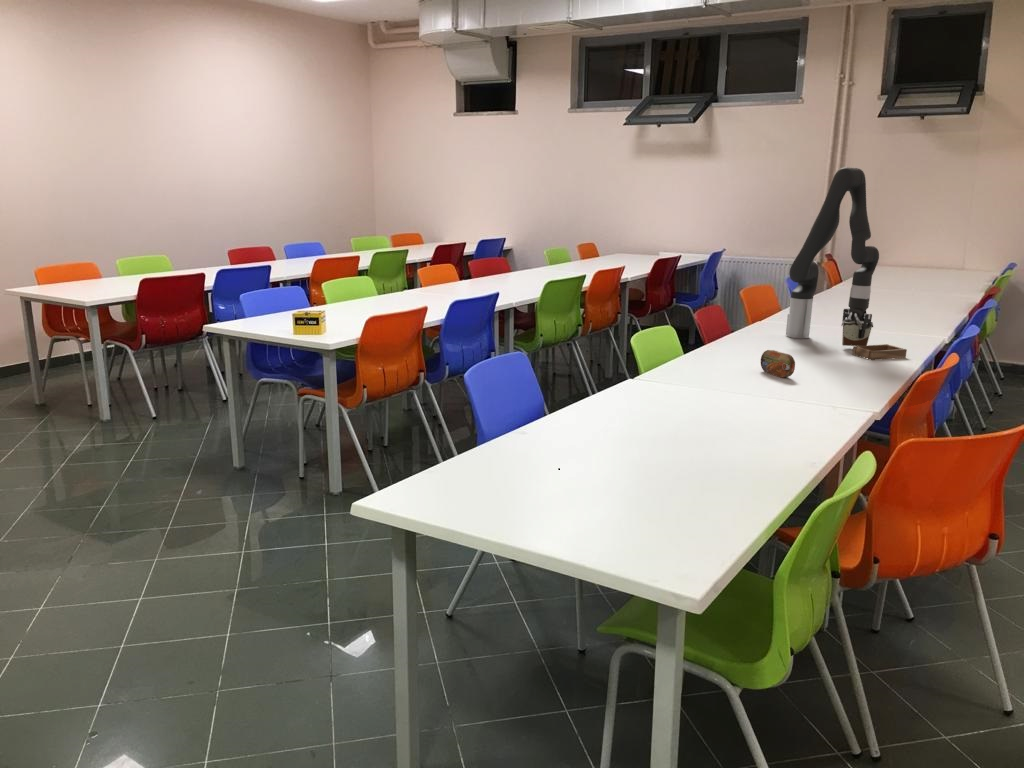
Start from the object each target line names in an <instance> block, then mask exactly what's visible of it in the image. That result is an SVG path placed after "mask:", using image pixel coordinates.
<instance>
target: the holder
mask: <svg viewBox="0 0 1024 768" xmlns="http://www.w3.org/2000/svg"><path fill="white" fill-rule="evenodd" d="M852 348H853V349H852V354H855V355H858V356H857V357H859V356H861V357H860V358H862V357H865V358H864V359H866V358H868V359H867V360H869V359H871V360H870V361H876V360H875V359H882V360H890V359H891V360H892V358H895V359H906V357H907V352H908V349H906V348H904V347H903V348H902V347H898V346H896V345H891V344H889V343H888V344H887V343H885V344H883V343H882V344H873V345H872V344H870V345H868V344H867V346H852ZM855 355H854V356H855Z"/></svg>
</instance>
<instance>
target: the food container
mask: <svg viewBox="0 0 1024 768" xmlns="http://www.w3.org/2000/svg"><path fill="white" fill-rule="evenodd" d="M842 320H843V319H842ZM861 322H862V321H861ZM867 324H868V323H867ZM840 326H841V327H842V344H841V345H842V346H845V347H846V346H847V347H848V346H849V347H853V346H868V342H869V339H870V336H871V331H872V328H874V323H873V321H871V325H870V328H869V329H866V330H865V335H864V338H863V339H859V338H858V334H859V329H860V328H859V325H858V324H857V322H856V321H848V319H847V318H846V319H845V320H843V322H841V324H840ZM862 326H863V324H862ZM866 326H867V325H866Z"/></svg>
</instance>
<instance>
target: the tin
mask: <svg viewBox="0 0 1024 768" xmlns="http://www.w3.org/2000/svg"><path fill="white" fill-rule="evenodd" d="M760 357H761V358H760V367H761V369H762V371H763V372H764V373H766V374H768V375H772V376H776V377H778V378H789V377H791V376H792V375H793V374H794V372H795V368H796V361H795V359H794V357H793V355H791V354H790V353H785V352H782V351H778V350H774V349H767V350H765V351H763V352H762V354H761V356H760Z"/></svg>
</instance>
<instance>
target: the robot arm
mask: <svg viewBox="0 0 1024 768" xmlns="http://www.w3.org/2000/svg"><path fill="white" fill-rule="evenodd" d="M866 180H867V179H866V175H865V172H864V170H862V169H861V168H858V167H841V168H840V169H838V170H837V171H836V172H835V174H834V175H833V177H832V181H831V183H830V185H829V188H828V192H827V194H826V196H825V199H824V201H823V203H822V205H821V208H820V210H819V212H818V215H817V216H816V218H815V220H814V222H813V224H812V226H811V227H810V231H809V233H808V235H807V237H806V239H805V241H804V243H803V245H802V247H801V249H800V250H799V252H798V254H797V256H796V257H795V259H794V260H793V262H792V264H791V266H790V267H789V274H788V275H789V278H790V280H791V281H792V282H793V283H797V286H796V287H795V288H794V289H792V291H791V292H790V301H789V313H788V314H787V319H786V330H785V336H786V337H788V338H792V339H809V338H810V332H811V323H812V313H813V303H814V295H815V293H816V291H817V286H818V279H819V266H818V264H817V263H816V262H815V261H814V260H815V258H816V256H817V255H818V254H819V252H821V251H822V250H823V249H824V248H825V246H827V244H829V242H830V241H832V238H833V237H834V235H835V233H836V231H837V230H838V226H839V224H840V220H841V219H840V212H841V211H840V208H841V204H842V201H843V199H844V197H845V195H846V193H847V192H849V194H850V196H851V198H850V199H851V210H850V214H849V228H850V229H849V230H850V234H851V245H850V246H851V247H850V248H851V249H850V256H851V259H852V261H853V262H854V264H856V265H860V268H859V269H856V270H855V271H854V272H853V274H852V280H851V281H852V282H851V287H850V290H849V291H850V293H849V298H848V304H847V305H848V307H849V308H843V311H842V322H843V320H845V319H848V321H856V322H857V324H858V325H859V328H860V329H859V334H858V338H859V339H863V338H864V335H865V330H866V329H869V328H870V325H871V322H872V318H873V314H872V313H867V310H868V309H869V307H870V306H869V305H870V300H871V299H870V298H871V292H872V291H871V290H872V288H871V287H872V281H873V280H872V279H873V275H874V272H875V270H876V268H877V265H878V262H879V260H880V252H879V249H878V248H877V247H875V246H874V245H873V246H872V245H867V246H866V241H868V240H870V239H871V238H872V237H871V236H872V233H871V227H870V222H869V217H868V210H867V208H868V207H867V189H866V188H867V181H866ZM861 321H862V322H861ZM842 322H841V323H842ZM867 323H868V324H867ZM862 324H863V326H862ZM866 325H867V326H866Z"/></svg>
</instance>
